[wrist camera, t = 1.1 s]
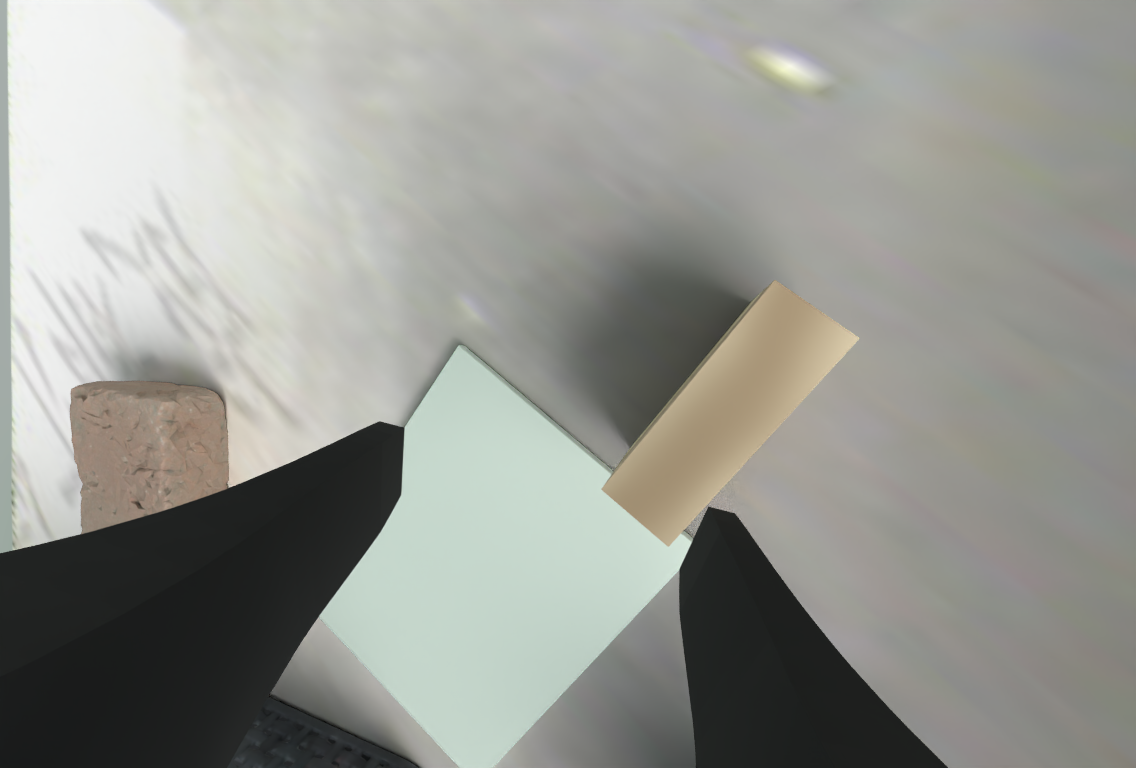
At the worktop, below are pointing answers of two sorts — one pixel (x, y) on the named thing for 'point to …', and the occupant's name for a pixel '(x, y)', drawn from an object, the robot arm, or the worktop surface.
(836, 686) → the robot arm
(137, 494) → the brick
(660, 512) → the slab
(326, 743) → the storage bin
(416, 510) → the mat
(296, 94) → the worktop surface
